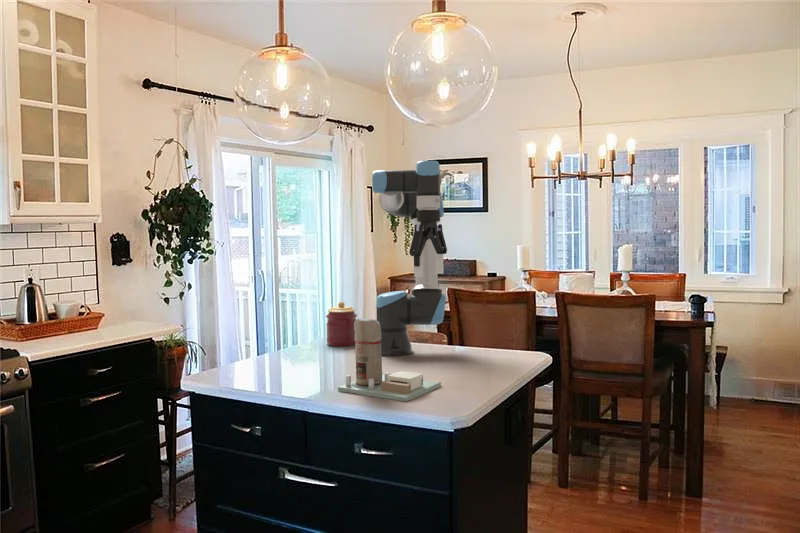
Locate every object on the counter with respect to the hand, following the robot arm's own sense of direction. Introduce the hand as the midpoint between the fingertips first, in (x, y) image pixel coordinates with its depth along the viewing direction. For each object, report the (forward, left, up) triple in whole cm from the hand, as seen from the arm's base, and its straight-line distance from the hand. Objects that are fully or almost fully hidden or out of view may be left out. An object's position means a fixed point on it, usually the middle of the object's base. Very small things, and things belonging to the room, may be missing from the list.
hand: (429, 275), depth 213 cm
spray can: (-8, -23, -32) cm, 40 cm away
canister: (-60, +31, -33) cm, 75 cm away
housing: (+4, -22, -31) cm, 38 cm away
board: (-2, -21, -33) cm, 39 cm away
